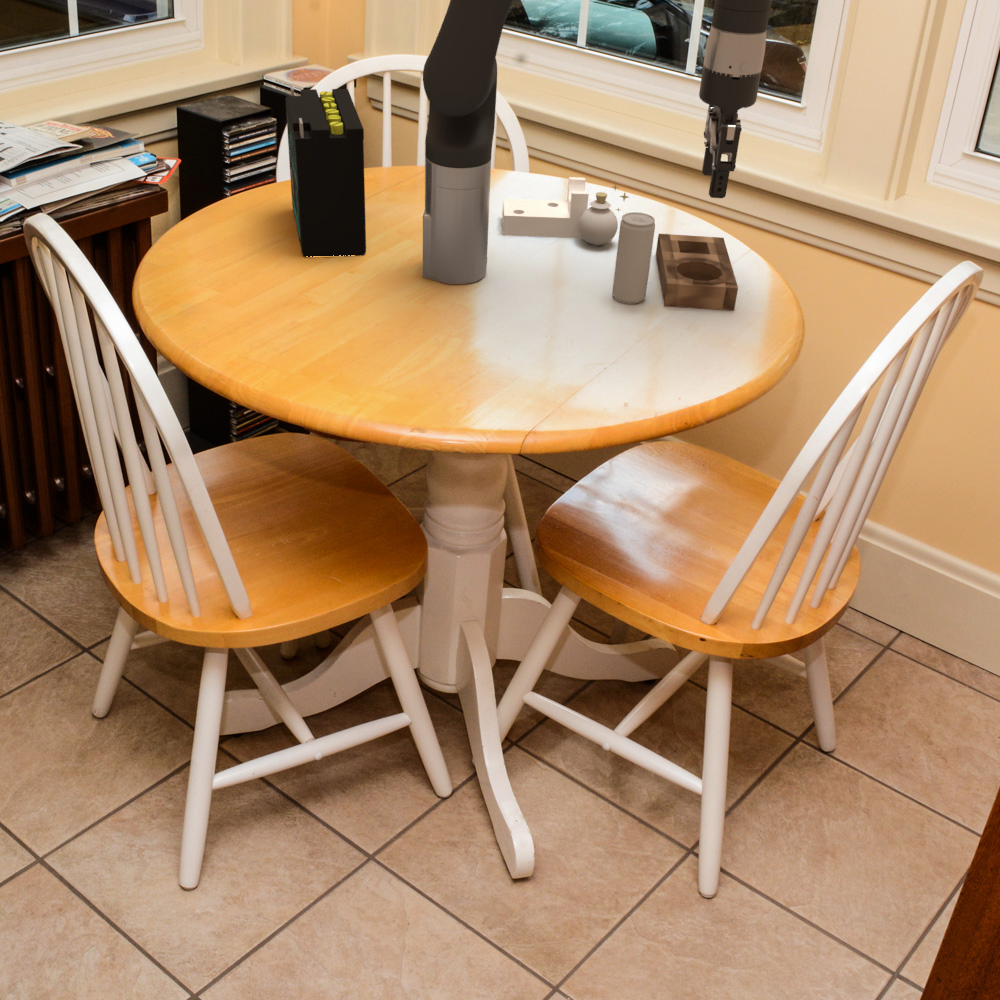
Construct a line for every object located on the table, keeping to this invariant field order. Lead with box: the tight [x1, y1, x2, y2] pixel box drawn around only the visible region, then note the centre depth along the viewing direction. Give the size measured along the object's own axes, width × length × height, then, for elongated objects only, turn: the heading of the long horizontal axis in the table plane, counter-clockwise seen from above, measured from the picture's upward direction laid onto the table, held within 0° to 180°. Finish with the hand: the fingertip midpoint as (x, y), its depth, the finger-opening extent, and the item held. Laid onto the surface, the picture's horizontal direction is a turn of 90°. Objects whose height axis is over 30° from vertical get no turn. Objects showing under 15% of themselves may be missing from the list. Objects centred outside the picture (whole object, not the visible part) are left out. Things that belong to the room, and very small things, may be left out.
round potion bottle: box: [579, 183, 630, 246], centre depth 174 cm, size 6×7×10 cm
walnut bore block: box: [655, 233, 739, 312], centre depth 166 cm, size 10×18×4 cm, turn 178°
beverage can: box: [611, 211, 656, 305], centre depth 158 cm, size 5×5×12 cm
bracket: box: [501, 176, 590, 239], centre depth 179 cm, size 13×7×8 cm, turn 91°
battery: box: [284, 84, 367, 258], centre depth 170 cm, size 19×10×20 cm, turn 13°
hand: (713, 185), depth 155 cm, fingers open, 8 cm apart
